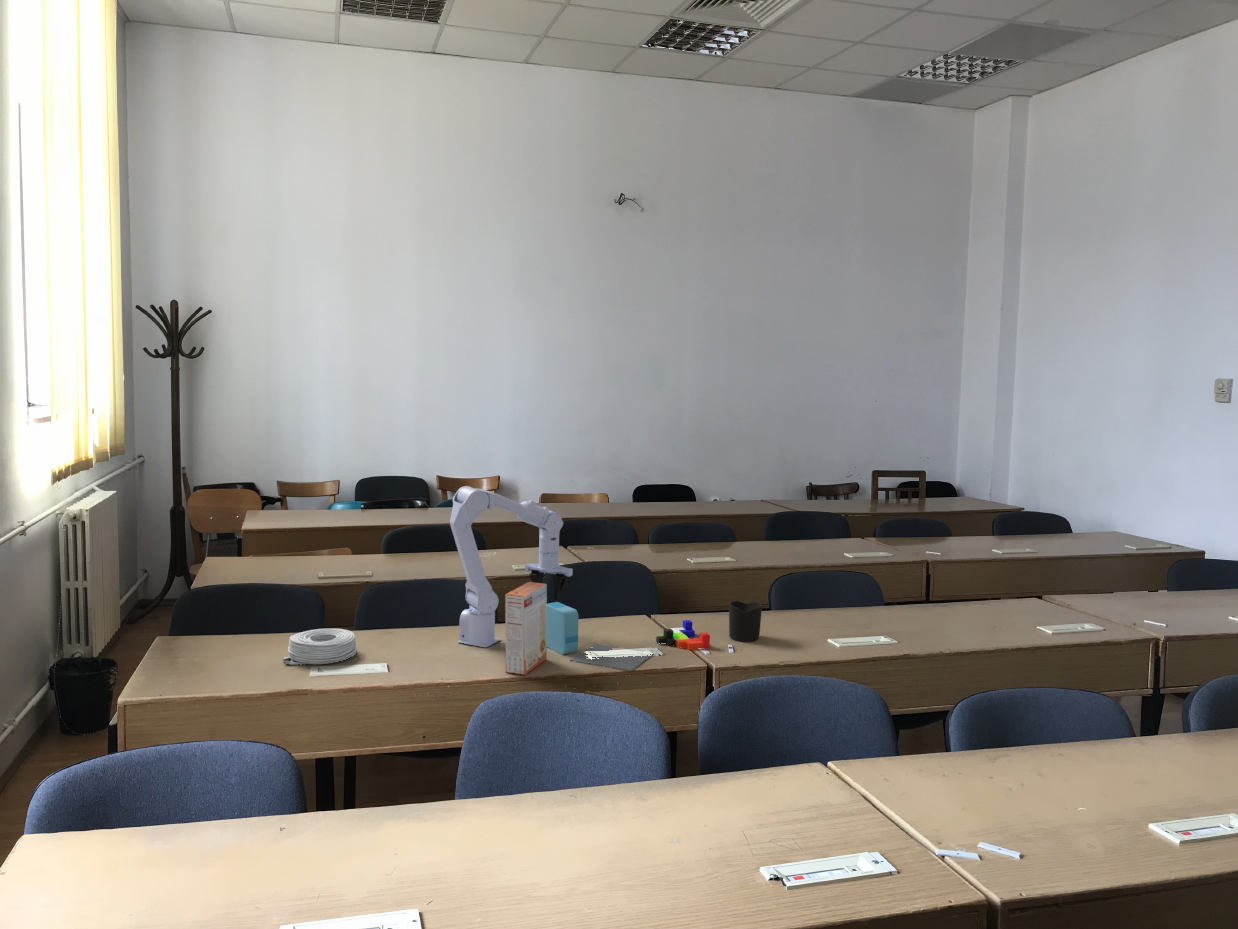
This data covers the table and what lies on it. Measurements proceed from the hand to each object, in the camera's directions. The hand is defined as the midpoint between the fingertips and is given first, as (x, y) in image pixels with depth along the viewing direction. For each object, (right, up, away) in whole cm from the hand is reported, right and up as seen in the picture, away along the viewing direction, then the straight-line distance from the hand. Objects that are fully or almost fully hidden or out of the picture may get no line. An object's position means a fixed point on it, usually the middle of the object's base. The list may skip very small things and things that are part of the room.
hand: (548, 597), depth 276 cm
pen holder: (+57, -12, +1) cm, 58 cm away
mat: (+19, -13, -20) cm, 30 cm away
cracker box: (-4, -14, -29) cm, 32 cm away
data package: (+4, -13, -14) cm, 19 cm away
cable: (-58, -13, -24) cm, 64 cm away
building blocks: (+38, -13, -5) cm, 40 cm away
